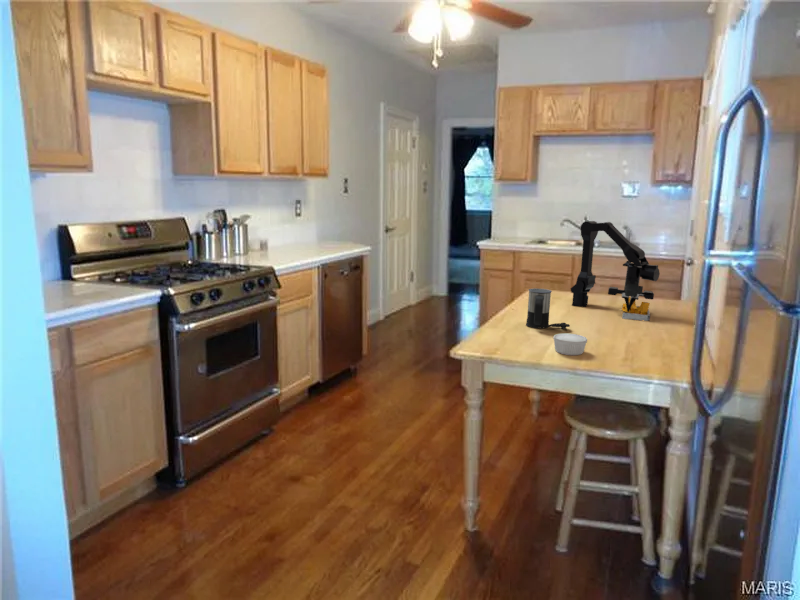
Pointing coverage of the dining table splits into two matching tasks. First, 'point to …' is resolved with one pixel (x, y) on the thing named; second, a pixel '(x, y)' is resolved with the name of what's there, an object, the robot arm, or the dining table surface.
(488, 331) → the dining table surface
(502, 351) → the dining table surface
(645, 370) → the dining table surface
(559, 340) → the ramekin
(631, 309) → the pipe clamp
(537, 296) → the milk frother
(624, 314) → the rail bay
